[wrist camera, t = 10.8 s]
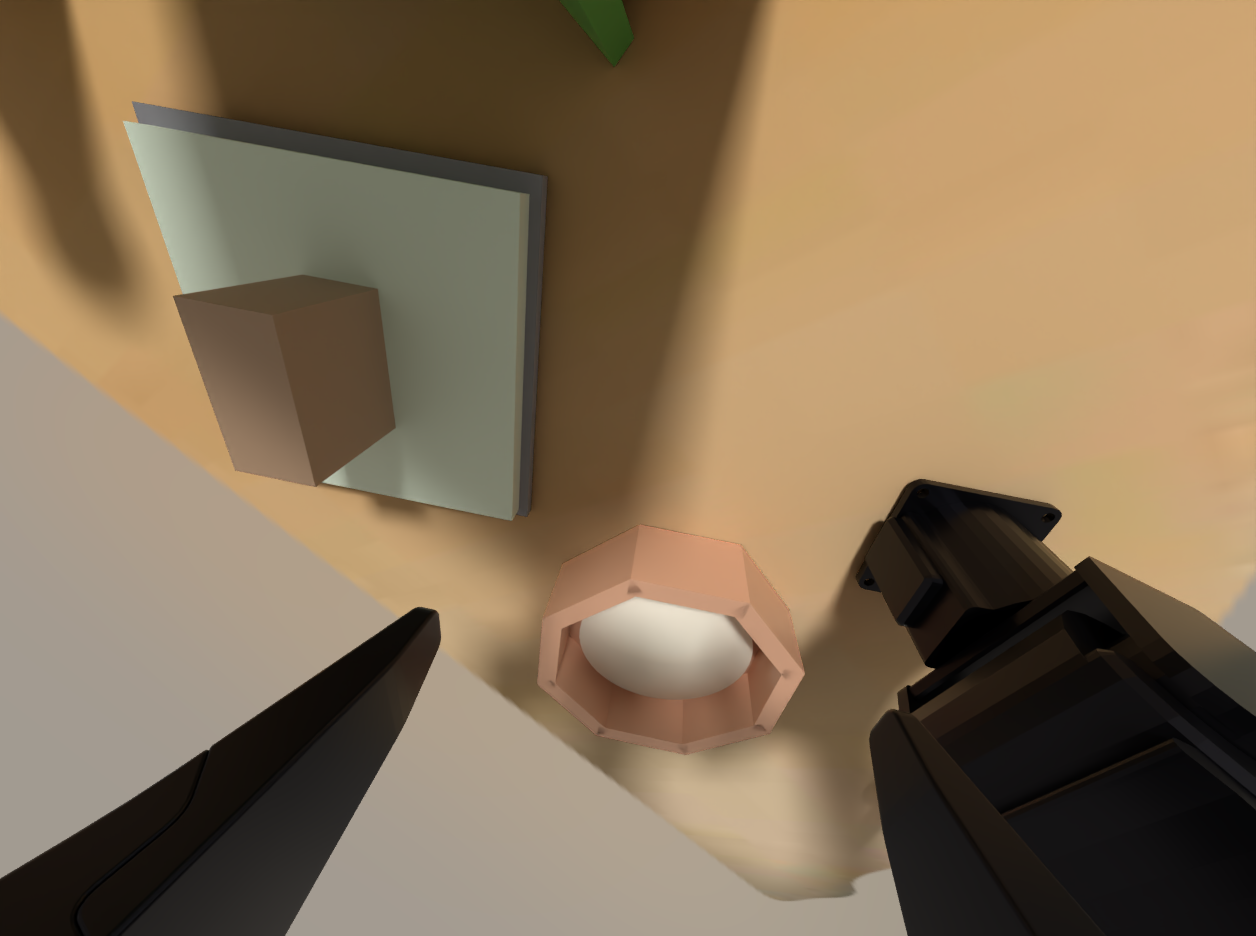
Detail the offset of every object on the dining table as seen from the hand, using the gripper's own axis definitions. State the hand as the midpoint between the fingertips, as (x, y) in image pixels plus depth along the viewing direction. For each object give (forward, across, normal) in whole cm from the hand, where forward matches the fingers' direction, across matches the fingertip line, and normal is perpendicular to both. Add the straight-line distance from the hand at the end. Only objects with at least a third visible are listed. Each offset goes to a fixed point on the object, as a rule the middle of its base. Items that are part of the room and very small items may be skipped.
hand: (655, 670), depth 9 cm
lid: (+12, +14, 0) cm, 18 cm away
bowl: (+13, -2, +13) cm, 18 cm away
